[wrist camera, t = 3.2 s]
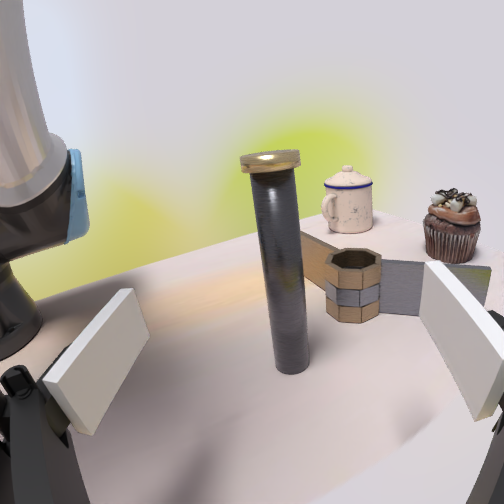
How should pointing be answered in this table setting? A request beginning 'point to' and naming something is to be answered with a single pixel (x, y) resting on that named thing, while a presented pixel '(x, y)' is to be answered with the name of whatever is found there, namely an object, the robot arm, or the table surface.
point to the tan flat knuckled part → (342, 274)
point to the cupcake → (452, 226)
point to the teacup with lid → (348, 202)
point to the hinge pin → (281, 253)
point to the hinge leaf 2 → (406, 286)
